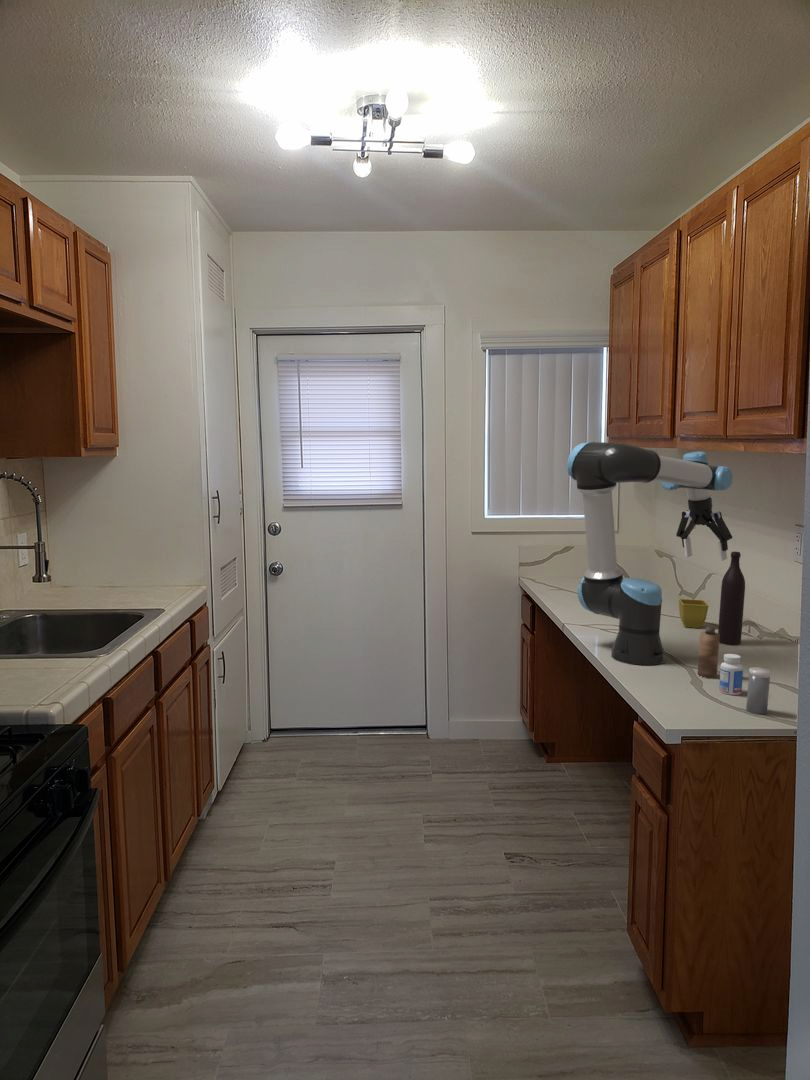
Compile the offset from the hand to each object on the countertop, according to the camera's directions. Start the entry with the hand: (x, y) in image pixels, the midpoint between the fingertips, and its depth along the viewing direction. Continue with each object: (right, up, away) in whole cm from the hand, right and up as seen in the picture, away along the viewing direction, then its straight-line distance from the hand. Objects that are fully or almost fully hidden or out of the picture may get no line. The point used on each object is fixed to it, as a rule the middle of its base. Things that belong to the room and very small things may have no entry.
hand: (705, 558), depth 260 cm
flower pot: (-1, -25, +9) cm, 26 cm away
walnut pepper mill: (-19, -32, -49) cm, 61 cm away
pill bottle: (-19, -34, -63) cm, 74 cm away
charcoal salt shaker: (-18, -35, -77) cm, 86 cm away
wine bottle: (+3, -28, -13) cm, 30 cm away
